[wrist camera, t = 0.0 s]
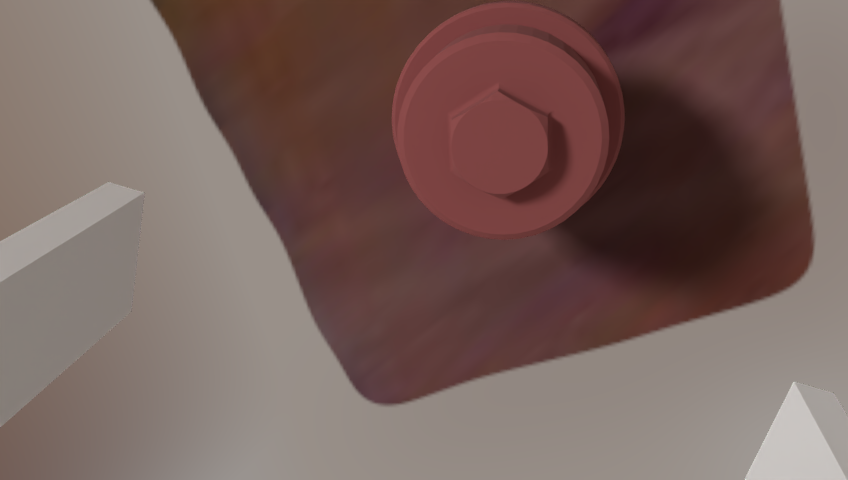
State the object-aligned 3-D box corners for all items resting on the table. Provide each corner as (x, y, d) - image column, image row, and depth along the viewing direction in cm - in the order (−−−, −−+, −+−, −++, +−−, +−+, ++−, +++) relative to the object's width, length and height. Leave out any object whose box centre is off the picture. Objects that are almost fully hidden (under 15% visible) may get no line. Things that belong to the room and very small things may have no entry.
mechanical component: (414, -4, 41) (613, -15, 39) (426, 183, 44) (610, 180, 42) (359, 19, 29) (638, 4, 28) (381, 269, 33) (630, 269, 31)
